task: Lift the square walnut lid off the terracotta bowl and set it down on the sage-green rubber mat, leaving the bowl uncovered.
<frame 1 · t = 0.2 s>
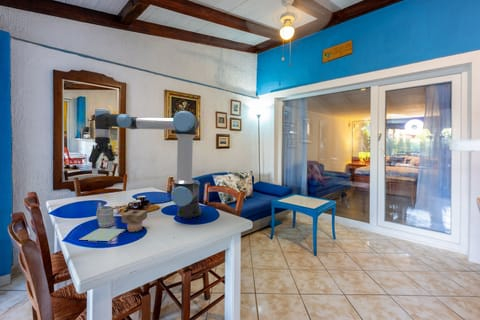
hand: (102, 172, 131), 28 cm above the table, fingers open, 13 cm apart
mug: (104, 224, 123), on the table
bowl: (134, 229, 118), on the table
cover: (134, 220, 117), point 5 cm above the table, touching bowl
mat: (103, 235, 109), on the table
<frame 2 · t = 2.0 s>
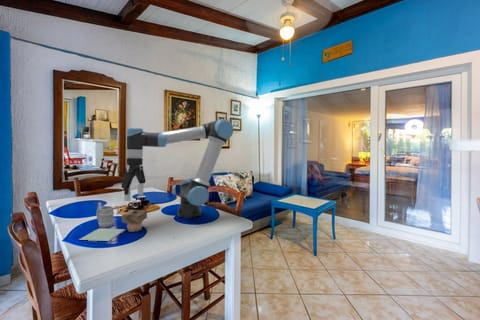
hand: (134, 197, 116), 17 cm above the table, fingers open, 13 cm apart
nothing on the table moved.
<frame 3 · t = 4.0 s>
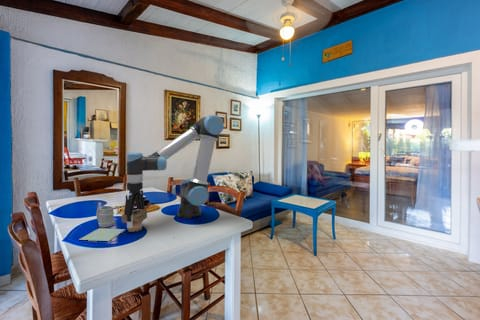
hand: (134, 224, 117), 3 cm above the table, fingers closed on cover, 9 cm apart
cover: (134, 220, 117), point 5 cm above the table, touching bowl, gripper
everything else where it was.
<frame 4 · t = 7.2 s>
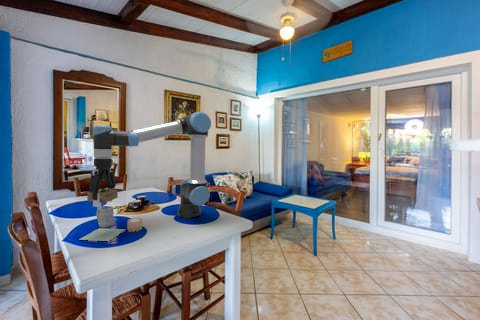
hand: (103, 203, 108), 16 cm above the table, fingers closed on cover, 9 cm apart
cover: (103, 199, 108), point 18 cm above the table, touching gripper
everything else where it was.
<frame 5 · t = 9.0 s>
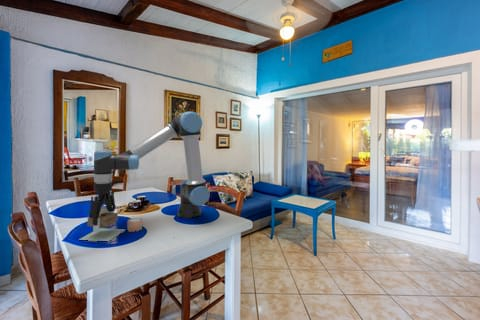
hand: (103, 227, 109), 4 cm above the table, fingers closed on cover, 9 cm apart
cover: (103, 223, 109), point 6 cm above the table, touching gripper
everything else where it was.
when the fingers open (2 cm above the table, at t = 10.4 s): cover drops 4 cm, resting on mat.
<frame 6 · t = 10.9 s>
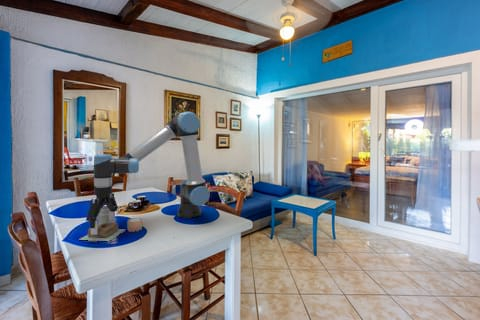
hand: (103, 228, 109), 3 cm above the table, fingers open, 13 cm apart
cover: (103, 234, 109), point 1 cm above the table, touching mat
everything else where it was.
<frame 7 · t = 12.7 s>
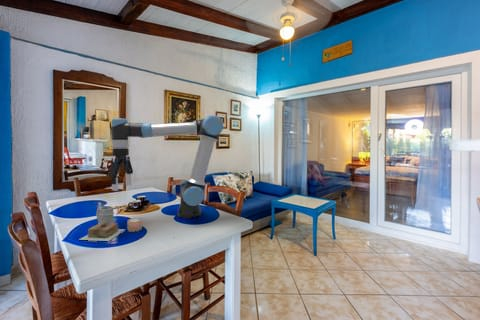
hand: (122, 187, 118), 22 cm above the table, fingers open, 13 cm apart
nothing on the table moved.
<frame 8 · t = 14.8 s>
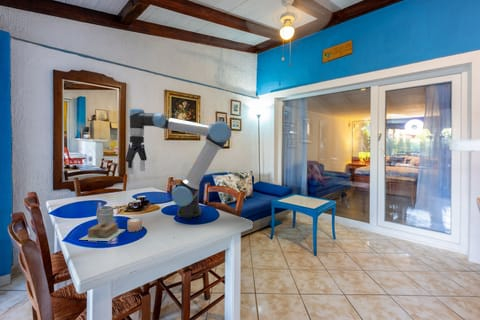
hand: (136, 172, 130), 29 cm above the table, fingers open, 13 cm apart
nothing on the table moved.
at the end: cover inside the target area on the mat (0.0 cm from its centre), point 0.6 cm above the mat's base; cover tilted 0°; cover touching mat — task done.
